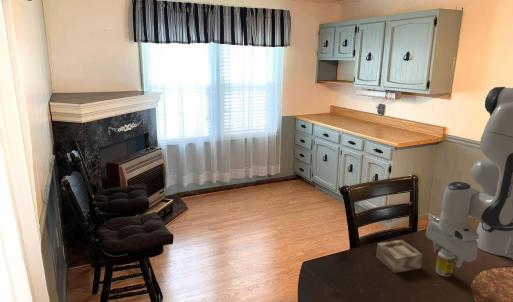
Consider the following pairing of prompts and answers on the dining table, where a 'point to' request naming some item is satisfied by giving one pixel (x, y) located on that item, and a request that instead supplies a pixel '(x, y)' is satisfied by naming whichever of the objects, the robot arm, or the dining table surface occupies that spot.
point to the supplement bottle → (445, 262)
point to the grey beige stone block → (399, 256)
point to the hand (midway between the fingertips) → (446, 259)
